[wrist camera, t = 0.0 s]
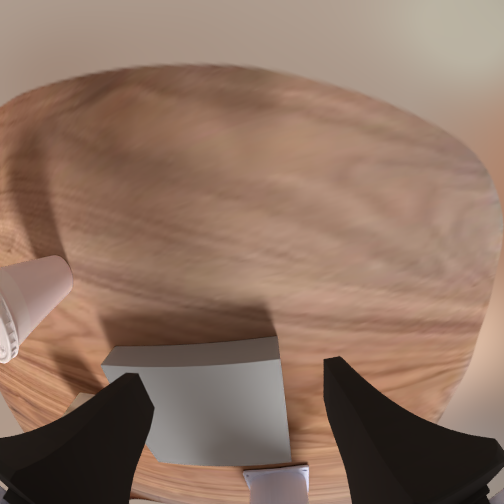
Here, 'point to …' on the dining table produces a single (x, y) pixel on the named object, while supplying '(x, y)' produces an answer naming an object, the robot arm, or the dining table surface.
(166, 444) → the plinth
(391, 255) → the dining table surface
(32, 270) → the smoothie
